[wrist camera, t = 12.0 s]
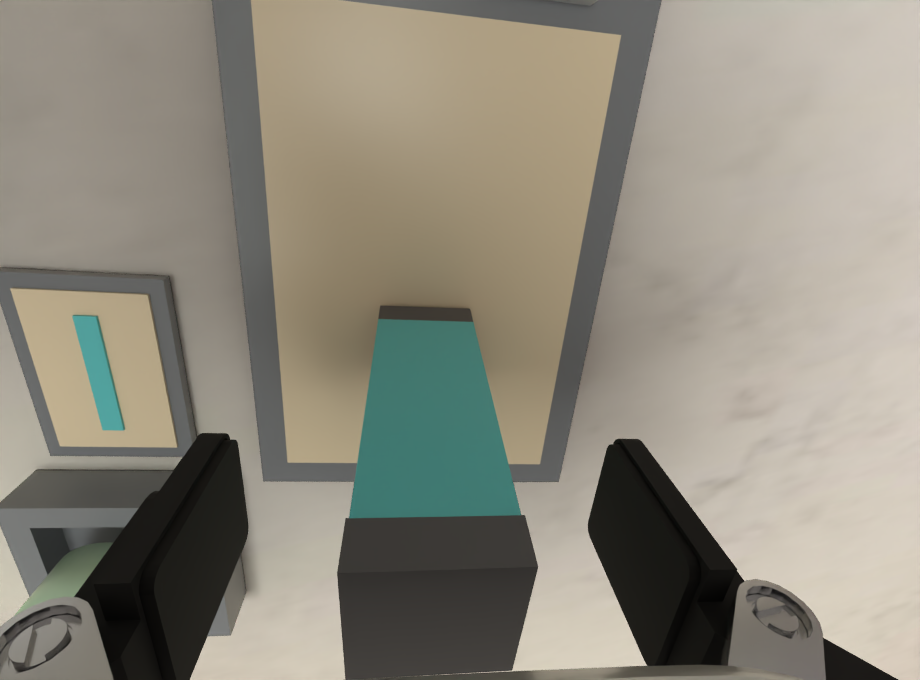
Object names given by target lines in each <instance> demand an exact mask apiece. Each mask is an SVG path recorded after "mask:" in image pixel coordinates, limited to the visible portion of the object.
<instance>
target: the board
mask: <svg viewBox="0 0 920 680" xmlns="http://www.w3.org/2000/svg"><path fill="white" fill-rule="evenodd" d="M660 5H661V0H212V6H213V15H214V25H215V34H216V43H217V53H218V62H219V71H220V81H221V90H222V99H223V109H224V118H225V127H226V137H227V146H228V155H229V165H230V174H231V183H232V193H233V202H234V211H235V221H236V230H237V239H238V249H239V258H240V267H241V277H242V286H243V295H244V305H245V314H246V323H247V333H248V342H249V351H250V361H251V370H252V379H253V389H254V398H255V407H256V417H257V426H258V435H259V445H260V454H261V463H262V473H263V481H331V482H355V475H356V468H357V461H358V454H359V447H360V440H361V434H362V427H363V420H364V413H365V406H366V399H367V393H368V386H369V379H370V372H371V365H372V358H373V351H374V345H375V338H376V331H377V324H378V317H379V310H380V305H382V306H411V307H440V308H469V309H470V310H471V314H472V318H473V322H474V327H475V331H476V335H477V339H478V343H479V347H480V351H481V355H482V359H483V363H484V367H485V371H486V375H487V379H488V383H489V387H490V391H491V395H492V399H493V403H494V407H495V411H496V415H497V419H498V424H499V428H500V432H501V436H502V440H503V444H504V448H505V452H506V456H507V460H508V464H509V468H510V472H511V476H512V480H513V482H559V478H560V473H561V469H562V464H563V459H564V455H565V450H566V445H567V441H568V436H569V431H570V426H571V422H572V417H573V412H574V408H575V403H576V398H577V394H578V389H579V384H580V380H581V375H582V370H583V366H584V361H585V356H586V351H587V347H588V342H589V337H590V333H591V328H592V323H593V319H594V314H595V309H596V305H597V300H598V295H599V291H600V286H601V281H602V276H603V272H604V267H605V262H606V258H607V253H608V248H609V244H610V239H611V234H612V230H613V225H614V220H615V216H616V211H617V206H618V202H619V197H620V192H621V187H622V183H623V178H624V173H625V169H626V164H627V159H628V155H629V150H630V145H631V141H632V136H633V131H634V127H635V122H636V117H637V112H638V108H639V103H640V98H641V94H642V89H643V84H644V80H645V75H646V70H647V66H648V61H649V56H650V52H651V47H652V42H653V37H654V33H655V28H656V23H657V19H658V14H659V9H660Z"/></svg>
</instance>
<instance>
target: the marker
mask: <svg viewBox="0 0 920 680" xmlns="http://www.w3.org/2000/svg"><path fill="white" fill-rule="evenodd" d="M537 569H538V565H537V561H536V557H535V553H534V549H533V545H532V541H531V537H530V533H529V529H528V526H527V522H526V518H525V515H521V512H520V508H519V504H518V500H517V496H516V492H515V488H514V484H513V480H512V476H511V472H510V468H509V464H508V460H507V456H506V452H505V448H504V444H503V440H502V436H501V432H500V428H499V424H498V419H497V415H496V411H495V407H494V403H493V399H492V395H491V391H490V387H489V383H488V379H487V375H486V371H485V367H484V363H483V359H482V355H481V351H480V347H479V343H478V339H477V335H476V331H475V327H474V322H473V318H472V314H471V310H470V309H469V308H440V307H411V306H382V305H380V310H379V317H378V324H377V331H376V338H375V345H374V351H373V358H372V365H371V372H370V379H369V386H368V393H367V399H366V406H365V413H364V420H363V427H362V434H361V440H360V447H359V454H358V461H357V468H356V475H355V482H354V488H353V495H352V502H351V509H350V516H349V518H346V520H345V526H344V533H343V539H342V546H341V552H340V559H339V565H338V572H337V576H338V589H339V601H340V614H341V627H342V640H343V653H344V665H345V678H346V680H352V679H370V678H388V677H405V676H423V675H441V674H458V673H476V672H493V671H511V670H512V668H513V664H514V660H515V657H516V653H517V649H518V645H519V641H520V637H521V633H522V629H523V625H524V621H525V617H526V613H527V609H528V605H529V601H530V597H531V593H532V589H533V585H534V581H535V577H536V573H537Z"/></svg>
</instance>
